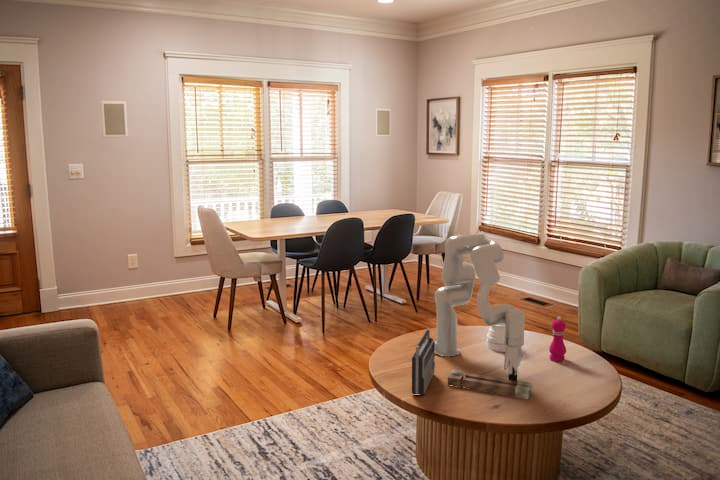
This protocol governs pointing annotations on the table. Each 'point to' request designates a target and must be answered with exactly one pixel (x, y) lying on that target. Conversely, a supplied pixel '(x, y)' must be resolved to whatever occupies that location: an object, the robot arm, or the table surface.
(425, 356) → the radio
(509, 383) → the tongs arm
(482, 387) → the tongs base
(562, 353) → the pepper mill
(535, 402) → the table surface
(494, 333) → the honey pot
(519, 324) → the robot arm
